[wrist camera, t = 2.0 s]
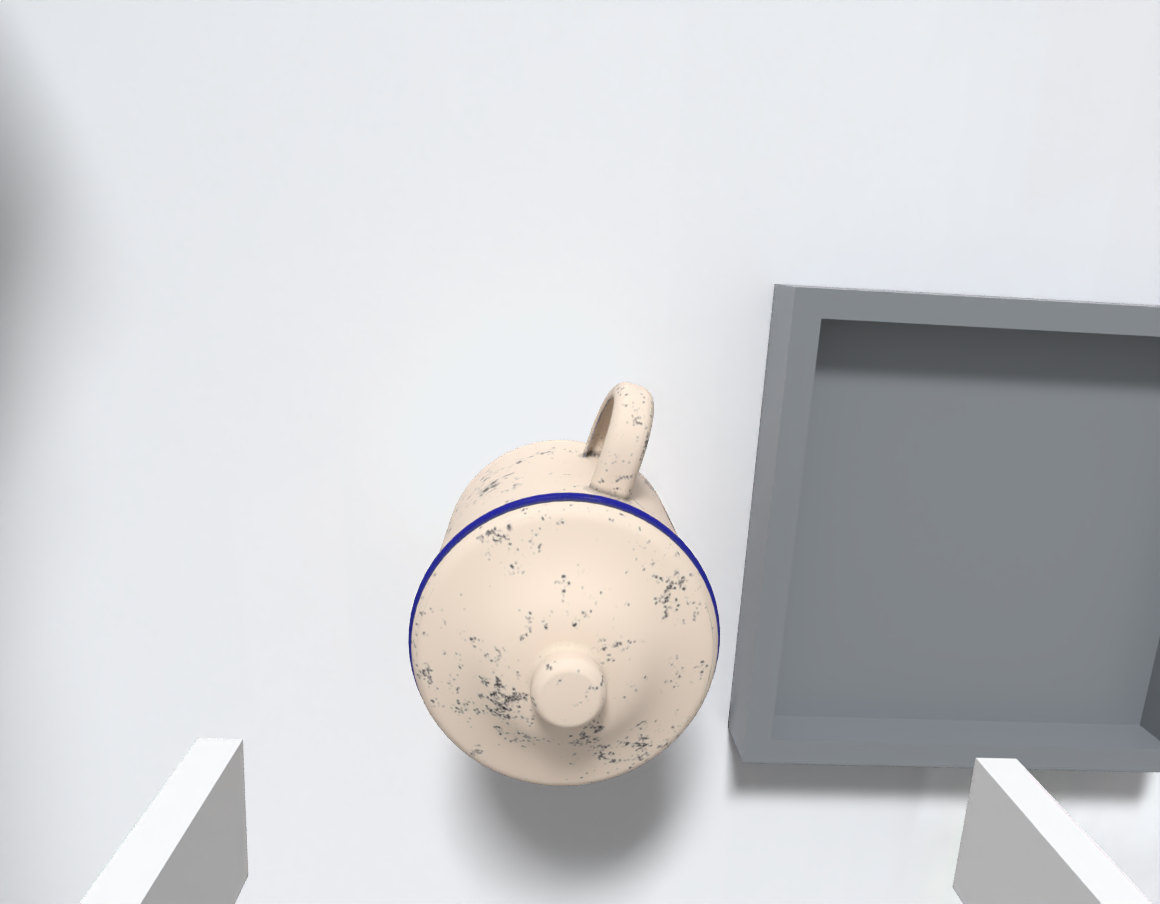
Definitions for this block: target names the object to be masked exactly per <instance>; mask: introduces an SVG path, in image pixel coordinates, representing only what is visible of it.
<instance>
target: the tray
mask: <svg viewBox="0 0 1160 904" xmlns="http://www.w3.org/2000/svg"><path fill="white" fill-rule="evenodd" d="M728 727H729V730H730V732H731V735H732V737H733V740H734V742H735V745H736V747H737V750H738V752H739V755H740V757H741V760H742V762H743V763H780V764H823V765H867V766H910V767H954V768H974V764H975V759H976V758H1008V759H1017V760H1018V761H1019V762H1020V763H1021V764H1022V765H1023V766H1024V767H1025V768H1026V769H1041V770H1084V771H1128V772H1160V306H1156V305H1138V304H1120V303H1102V302H1084V301H1066V300H1048V299H1031V298H1013V297H995V296H977V295H959V294H941V293H923V292H905V291H887V290H869V289H851V288H833V287H816V286H798V285H780V284H775V287H774V297H773V306H772V316H771V325H770V334H769V344H768V353H767V363H766V372H765V382H764V391H763V400H762V410H761V419H760V429H759V438H758V448H757V457H756V466H755V476H754V485H753V495H752V504H751V513H750V523H749V532H748V542H747V551H746V561H745V570H744V579H743V589H742V598H741V608H740V617H739V627H738V636H737V645H736V655H735V664H734V674H733V683H732V693H731V702H730V711H729V721H728Z"/></svg>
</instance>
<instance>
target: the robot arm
mask: <svg viewBox="0 0 1160 904" xmlns="http://www.w3.org/2000/svg"><path fill="white" fill-rule="evenodd" d="M247 877H248V859H247V834H246V808H245V782H244V757H243V739H208V738H198V739H197V740H196V742H195V743H194V744H193V746H192V747H191V749H190V750H189V751H188V753H187V754H186V756H185V757H184V758H183V760H182V761H181V762H180V764H179V765H178V767H177V768H176V769H175V771H174V772H173V774H172V775H171V776H170V778H169V779H168V781H167V782H166V783H165V785H164V786H163V788H162V789H161V790H160V792H159V793H158V795H157V796H156V797H155V799H154V800H153V802H152V803H151V804H150V806H149V807H148V808H147V810H146V811H145V813H144V814H143V815H142V817H141V818H140V820H139V821H138V822H137V824H136V825H135V827H134V828H133V829H132V831H131V832H130V834H129V835H128V836H127V838H126V839H125V841H124V842H123V843H122V845H121V846H120V847H119V849H118V850H117V852H116V853H115V854H114V856H113V857H112V859H111V860H110V861H109V863H108V864H107V866H106V867H105V868H104V870H103V871H102V873H101V874H100V875H99V877H98V878H97V880H96V881H95V882H94V884H93V885H92V886H91V888H90V889H89V891H88V892H87V893H86V895H85V896H84V898H83V899H82V900H81V902H80V903H79V904H235V902H236V900H237V898H238V896H239V894H240V892H241V890H242V887H243V885H244V883H245V881H246V879H247ZM953 889H954V890H955V892H956V893H957V895H958V896H959V898H960V900H961V901H962V903H963V904H1153V903H1152V902H1151V901H1150V900H1149V899H1148V898H1147V897H1146V896H1145V895H1144V894H1143V893H1142V892H1141V891H1140V890H1139V889H1138V887H1137V886H1136V885H1135V884H1134V883H1133V882H1132V881H1131V880H1130V879H1129V878H1128V877H1127V876H1126V875H1125V874H1124V873H1123V871H1122V870H1121V869H1120V868H1119V867H1118V866H1117V865H1116V864H1115V863H1114V862H1113V861H1112V860H1111V859H1110V858H1109V857H1108V856H1107V854H1106V853H1105V852H1104V851H1103V850H1102V849H1101V848H1100V847H1099V846H1098V845H1097V844H1096V843H1095V842H1094V841H1093V840H1092V839H1091V837H1090V836H1089V835H1088V834H1087V833H1086V832H1085V831H1084V830H1083V829H1082V828H1081V827H1080V826H1079V825H1078V824H1077V823H1076V822H1075V820H1074V819H1073V818H1072V817H1071V816H1070V815H1069V814H1068V813H1067V812H1066V811H1065V810H1064V809H1063V808H1062V807H1061V806H1060V805H1059V803H1058V802H1057V801H1056V800H1055V799H1054V798H1053V797H1052V796H1051V795H1050V794H1049V793H1048V792H1047V791H1046V790H1045V789H1044V788H1043V786H1042V785H1041V784H1040V783H1039V782H1038V781H1037V780H1036V779H1035V778H1034V777H1033V776H1032V775H1031V774H1030V773H1029V772H1028V770H1027V769H1026V768H1025V767H1024V766H1023V765H1022V764H1021V763H1020V762H1019V761H1018V760H1017V759H1008V758H976V759H975V764H974V770H973V776H972V781H971V787H970V792H969V798H968V804H967V809H966V815H965V821H964V826H963V832H962V837H961V843H960V849H959V854H958V860H957V865H956V871H955V877H954V882H953Z"/></svg>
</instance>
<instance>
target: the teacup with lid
mask: <svg viewBox="0 0 1160 904" xmlns="http://www.w3.org/2000/svg"><path fill="white" fill-rule="evenodd" d="M653 414H654V403H653V398H652V396H651V394H650V392H649V391H648V390H647V389H646V388H644V387H641V386H638V385H635V384H632V383H628V382H622V383H619V384H617V385H616V386H614V387H613V388H612V389H611V391H610V392H609V393H608V395H607V396H606V398H605V400H604V401H603V403H602V405H601V407H600V409H599V412H598V414H597V416H596V419H595V421H594V424H593V426H592V429H591V432H590V435H589V437H588V440H587V443H584V442H578V441H570V440H549V441H541V442H536V443H532V444H528V445H525V446H522V447H519V448H516V449H514V450H512V451H509V452H507V453H505V454H504V455H502V456H500V457H498V458H497V459H495V460H494V461H493V462H491V463H490V464H488V465H487V466H486V467H485V468H484V469H483V470H481V471H480V472H479V473H478V474H477V475H476V476H475V478H474V479H473V480H472V481H471V482H470V483H469V485H468V486H467V487H466V489H465V490H464V492H463V493H462V495H461V497H460V498H459V500H458V502H457V504H456V506H455V509H454V512H453V514H452V517H451V520H450V523H449V526H448V529H447V532H446V535H445V538H444V541H443V544H442V547H441V549H440V552H439V554H438V555H437V557H436V558H435V559H434V561H433V562H432V564H431V565H430V567H429V569H428V570H427V572H426V574H425V576H424V578H423V580H422V582H421V584H420V586H419V589H418V592H417V594H416V597H415V600H414V604H413V608H412V612H411V617H410V625H409V655H410V662H411V667H412V672H413V675H414V679H415V682H416V685H417V687H418V690H419V692H420V695H421V697H422V699H423V701H424V704H425V705H426V707H427V709H428V711H429V713H430V715H431V716H432V718H433V719H434V720H435V722H436V723H437V725H438V726H439V728H440V729H441V730H442V731H443V732H444V733H445V735H446V736H447V737H448V738H449V739H450V740H451V741H452V742H453V743H454V744H455V745H456V746H457V747H458V748H460V749H461V750H462V751H463V752H465V753H466V754H467V755H468V756H470V757H471V758H473V759H474V760H476V761H477V762H479V763H481V764H482V765H484V766H486V767H488V768H490V769H492V770H494V771H496V772H498V773H501V774H503V775H506V776H508V777H511V778H514V779H518V780H521V781H525V782H530V783H535V784H542V785H553V786H571V785H582V784H590V783H595V782H599V781H604V780H607V779H610V778H613V777H617V776H619V775H622V774H624V773H627V772H629V771H631V770H633V769H635V768H637V767H639V766H641V765H643V764H645V763H646V762H648V761H649V760H651V759H652V758H654V757H655V756H657V755H658V754H659V753H661V752H662V751H663V750H664V749H666V748H667V747H668V746H669V745H670V744H671V743H672V742H673V741H675V740H676V739H677V738H678V737H679V736H680V734H681V733H682V732H683V731H684V730H685V729H686V728H687V726H688V725H689V724H690V722H691V721H692V720H693V718H694V717H695V715H696V714H697V712H698V710H699V709H700V707H701V705H702V704H703V702H704V699H705V697H706V695H707V693H708V691H709V688H710V685H711V682H712V679H713V676H714V673H715V669H716V664H717V660H718V654H719V646H720V625H719V615H718V610H717V605H716V601H715V597H714V594H713V591H712V588H711V585H710V583H709V581H708V579H707V576H706V574H705V572H704V571H703V569H702V567H701V565H700V563H699V562H698V560H697V559H696V558H695V556H694V555H693V553H692V552H691V550H690V549H689V548H688V547H687V546H686V545H685V544H684V542H683V541H682V540H681V539H680V538H679V537H678V535H677V533H676V531H675V529H674V527H673V525H672V523H671V521H670V519H669V517H668V515H667V513H666V511H665V509H664V506H663V504H662V502H661V500H660V498H659V497H658V495H657V493H656V491H655V490H654V489H653V487H652V486H651V484H650V483H649V482H648V480H647V479H646V478H645V477H644V476H643V475H642V474H641V473H640V472H639V469H640V466H641V463H642V460H643V457H644V454H645V451H646V447H647V444H648V440H649V436H650V431H651V427H652V421H653Z"/></svg>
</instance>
